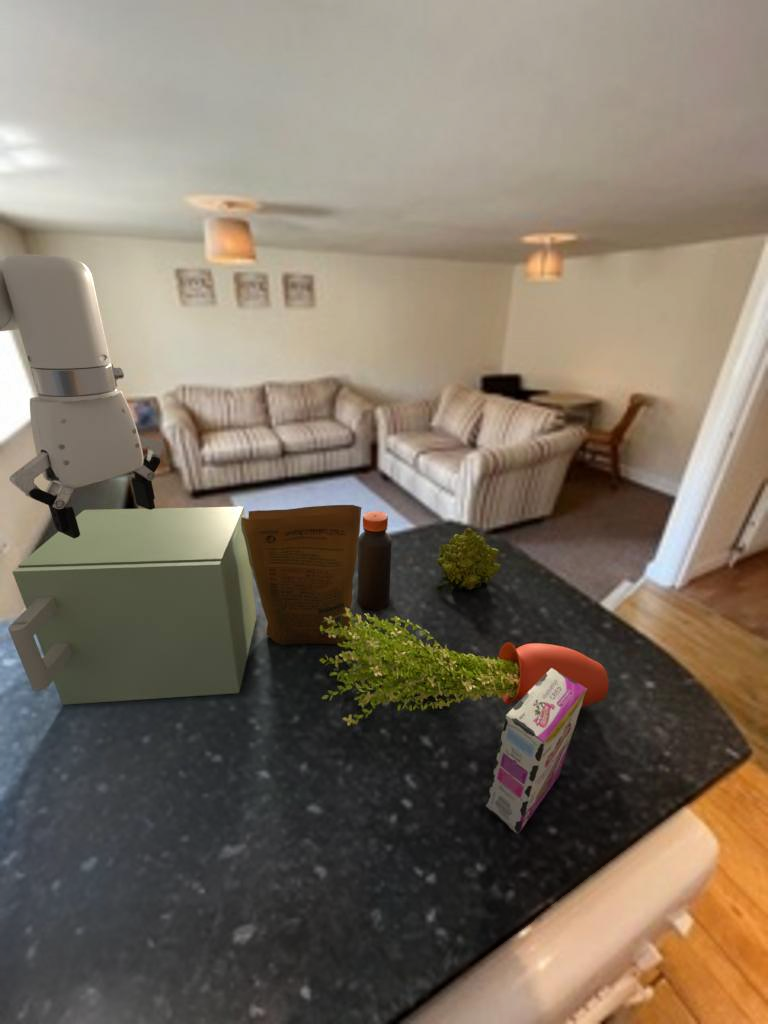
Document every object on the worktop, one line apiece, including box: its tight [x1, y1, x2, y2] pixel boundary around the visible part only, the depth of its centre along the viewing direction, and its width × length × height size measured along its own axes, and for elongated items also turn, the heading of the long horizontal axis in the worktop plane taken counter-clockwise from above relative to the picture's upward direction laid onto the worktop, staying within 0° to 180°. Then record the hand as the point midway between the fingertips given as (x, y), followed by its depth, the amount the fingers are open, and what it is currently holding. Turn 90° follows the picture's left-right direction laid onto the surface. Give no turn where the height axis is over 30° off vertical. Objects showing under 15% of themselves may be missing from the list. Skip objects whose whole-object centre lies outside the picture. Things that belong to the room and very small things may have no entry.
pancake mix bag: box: [241, 504, 362, 646], centre depth 78 cm, size 7×19×28 cm, turn 93°
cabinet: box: [17, 506, 257, 688], centre depth 74 cm, size 18×26×24 cm
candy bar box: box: [485, 668, 587, 835], centre depth 55 cm, size 11×5×16 cm, turn 135°
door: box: [7, 561, 241, 705], centre depth 62 cm, size 8×26×24 cm, turn 96°
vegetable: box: [435, 527, 502, 592], centre depth 101 cm, size 15×16×15 cm
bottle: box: [357, 510, 393, 610], centre depth 91 cm, size 7×7×20 cm
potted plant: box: [319, 607, 610, 727], centre depth 72 cm, size 19×14×45 cm
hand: (110, 519), depth 57 cm, fingers open, 9 cm apart
